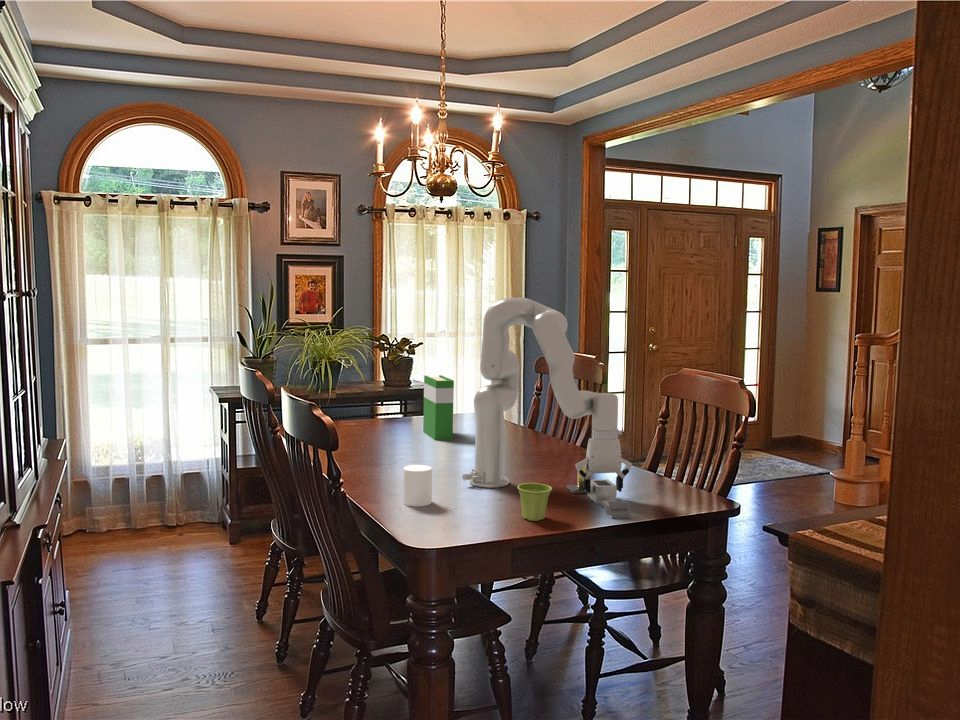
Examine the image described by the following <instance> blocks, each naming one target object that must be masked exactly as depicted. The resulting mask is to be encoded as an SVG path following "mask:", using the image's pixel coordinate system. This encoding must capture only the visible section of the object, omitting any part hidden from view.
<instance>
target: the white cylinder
mask: <svg viewBox="0 0 960 720" xmlns="http://www.w3.org/2000/svg"><path fill="white" fill-rule="evenodd" d="M402 479H403V480H402V484H403V485H402V503H403V504H404V505H405V506H409V507H414V508H416V507H426V506H430V505H431V504H432V500H433V497H432V496H433V494H432V493H433V467H431V466H430V465H425V464H409V465H406V466H404V467H403V474H402Z"/></svg>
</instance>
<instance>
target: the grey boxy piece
mask: <svg viewBox="0 0 960 720" xmlns="http://www.w3.org/2000/svg"><path fill="white" fill-rule="evenodd" d="M606 514H607V515H608V516H609V515H610V516H611V517H612V518H623V519H630V516H631V515H630V514H631V511H630V510H629V502H628V500H616V501H609V507H607V510H606ZM610 516H609V517H610ZM611 517H610V518H611ZM612 518H611V519H612Z"/></svg>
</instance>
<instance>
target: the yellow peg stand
mask: <svg viewBox="0 0 960 720" xmlns="http://www.w3.org/2000/svg"><path fill="white" fill-rule="evenodd" d="M582 470H583V471H584V472H585V471H586V470H587V469H586V465H584V466H582ZM576 483H577V484H567V485H566V489H567V488H568V489H569V490H570V491H571V492H572V493H571V492H570V491H569V490H568V489H567V490H568V491H569V492H570V493H571V494H573V493H587V492H586V491H585V489H584V477H583V476H582V475H581V474H580V473H579V472H578V471H577V478H576Z"/></svg>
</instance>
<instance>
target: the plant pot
mask: <svg viewBox="0 0 960 720" xmlns="http://www.w3.org/2000/svg"><path fill="white" fill-rule="evenodd" d="M517 489H518V492H519V496H520V497H519V498H520V506H521V517H522V519H524V520H525V519H526V520H527V521H531V522H532V521H535V522H538V521H541V520H545V518H546V511H547V505H548V500H549V496H550V494H551V491H553V489H552V486H550V485H549V484H544V483H537V482H526V483H525V482H524V483H521V484H518V485H517Z"/></svg>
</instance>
